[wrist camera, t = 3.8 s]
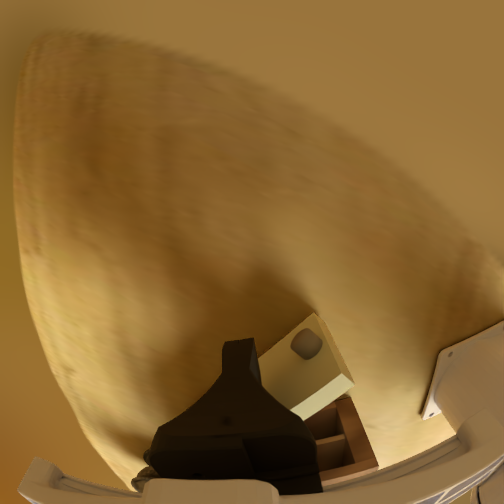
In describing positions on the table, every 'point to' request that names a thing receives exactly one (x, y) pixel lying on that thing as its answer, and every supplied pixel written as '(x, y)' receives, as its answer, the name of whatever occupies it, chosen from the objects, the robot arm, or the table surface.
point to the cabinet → (341, 443)
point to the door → (305, 369)
